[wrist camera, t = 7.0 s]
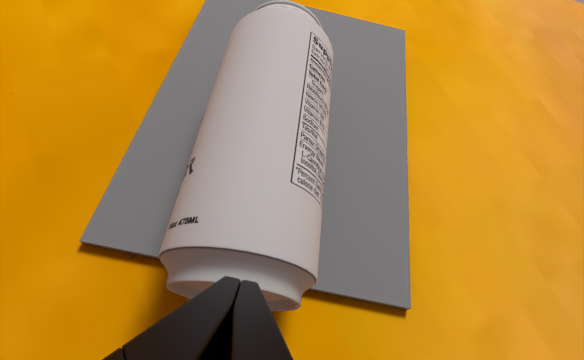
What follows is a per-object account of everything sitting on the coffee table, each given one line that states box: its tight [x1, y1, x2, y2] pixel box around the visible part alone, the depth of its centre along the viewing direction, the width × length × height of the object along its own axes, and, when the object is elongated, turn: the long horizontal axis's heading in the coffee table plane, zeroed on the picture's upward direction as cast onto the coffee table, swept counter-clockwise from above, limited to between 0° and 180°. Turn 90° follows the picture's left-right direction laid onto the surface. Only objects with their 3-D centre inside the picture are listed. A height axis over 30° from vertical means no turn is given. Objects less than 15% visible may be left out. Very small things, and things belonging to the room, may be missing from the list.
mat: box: [80, 0, 411, 310], centre depth 21 cm, size 22×16×1 cm
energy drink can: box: [158, 0, 333, 311], centre depth 16 cm, size 6×6×15 cm
